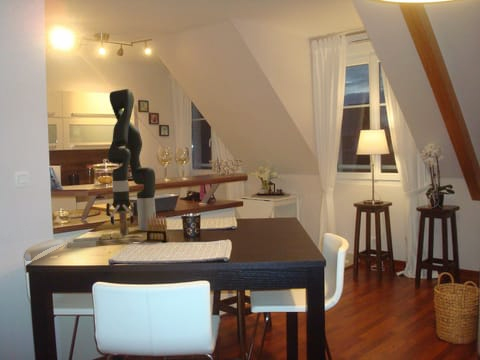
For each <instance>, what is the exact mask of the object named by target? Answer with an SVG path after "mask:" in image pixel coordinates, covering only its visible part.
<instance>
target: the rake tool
mask: <svg viewBox="0 0 480 360" xmlns="http://www.w3.org/2000/svg"><path fill="white" fill-rule="evenodd" d="M118 213H119V215H118V216H119V233H122V236H129V234H128V221H127V220H128V219H127V211H119V212H118Z"/></svg>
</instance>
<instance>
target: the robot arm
mask: <svg viewBox="0 0 480 360" xmlns="http://www.w3.org/2000/svg"><path fill="white" fill-rule="evenodd" d="M109 102H110V105H111V109H112V111H113V114H114V116H115V119H116V122H115V124H114V127H113V131H112V141H111V145H110V146H109V148H108V151H107V160H108V162H109V163H111V164H122V165H121V166H120V167H116V168H113V169H112V172H111V173H112V203H110V202H107V203H106V209H105V210H106V212H105V215H106V216H107V217H110V224H111V225H112V226H113V225H114V226H115V214H116V213H117V212H118V213H119V211H126V213H128V214H129V216H130V217H129V218H130V224H131V225H132V224H133V223H134V222H135V220H134V219H135V218H134V216H135V215H137V220H138V221H137V223H138V231H140V232H141V231H142V232H144V231H145V232H147V218H148V216H149V218H150V224H151V216H152V217H153V223H154V216H157V215H156V203H155V200H156V198H155V193H156V173H155V170H154V169H153V168H152V167H142V165H141V160H140V156H141V151H142V149H143V140H142V137H141V133H140V130H139V129H138V128H137V126H136V125H135V124H134V123H132V122H131V117H132V113H133V109H134V105H135V97H134V93H133V91H132V90H131V89H129V88H124V89H118V90H113V91H110V93H109ZM129 167H130V173H131V177H132V181H133V182H134V184H135V185H138V186H143V189H142V190H140V191H138V192H137V193H136V201H132V202H131V201H130V187H129V175H128V174H129V172H128V171H129ZM130 206H131V207H133V211H132V209H130ZM111 208H114V210H112V213H110V212H111V211H110V209H111Z"/></svg>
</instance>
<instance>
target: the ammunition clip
mask: <svg viewBox="0 0 480 360" xmlns="http://www.w3.org/2000/svg"><path fill="white" fill-rule="evenodd" d="M156 216H157V217H156ZM156 216H154V223H153V217H152V216H151V224H150V218H149V216H148V218H147V231H146V240H147V241H150V240H151V241H161V243H168V242H169V230H168V225H167V217H166V215H164V216H162V215H161V216H159V215H156Z"/></svg>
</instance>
